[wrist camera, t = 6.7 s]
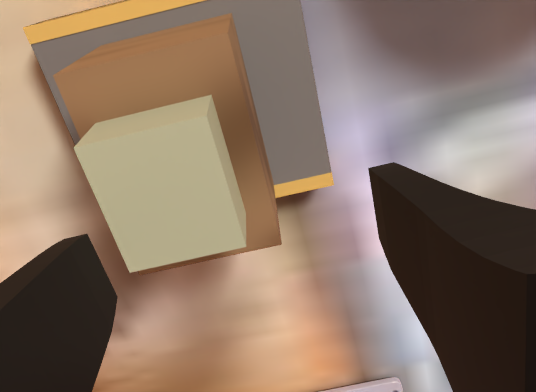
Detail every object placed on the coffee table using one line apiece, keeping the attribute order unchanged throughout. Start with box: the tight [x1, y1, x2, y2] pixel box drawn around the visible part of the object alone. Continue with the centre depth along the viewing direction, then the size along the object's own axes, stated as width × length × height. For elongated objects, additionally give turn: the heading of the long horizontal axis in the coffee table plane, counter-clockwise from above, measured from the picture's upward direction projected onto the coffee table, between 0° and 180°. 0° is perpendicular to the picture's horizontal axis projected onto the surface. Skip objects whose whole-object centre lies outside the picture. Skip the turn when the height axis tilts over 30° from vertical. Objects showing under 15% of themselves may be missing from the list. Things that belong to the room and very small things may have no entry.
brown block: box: [53, 13, 282, 275], centre depth 17 cm, size 7×5×5 cm
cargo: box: [74, 95, 246, 273], centre depth 14 cm, size 4×4×2 cm
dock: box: [23, 0, 334, 198], centre depth 20 cm, size 9×10×2 cm
